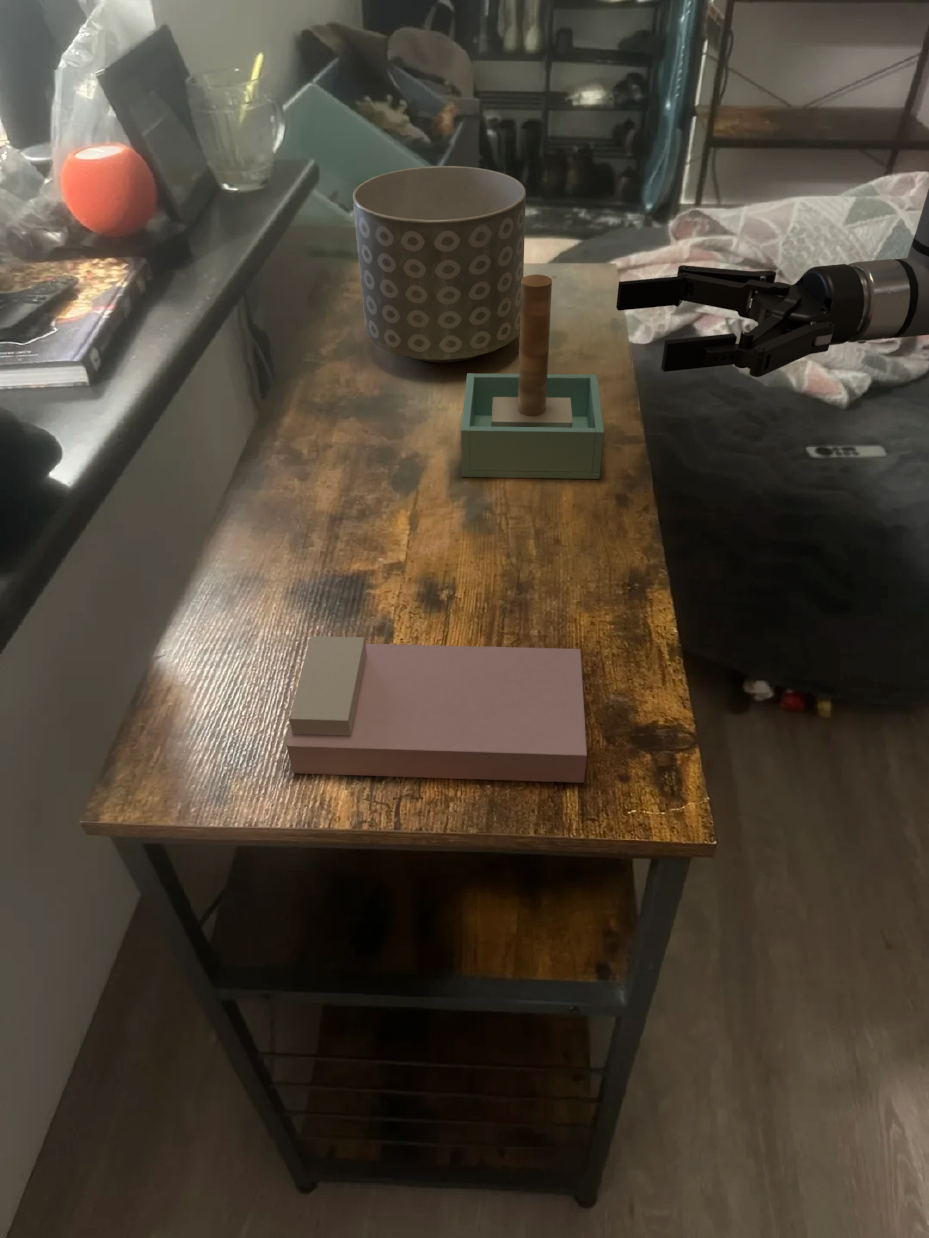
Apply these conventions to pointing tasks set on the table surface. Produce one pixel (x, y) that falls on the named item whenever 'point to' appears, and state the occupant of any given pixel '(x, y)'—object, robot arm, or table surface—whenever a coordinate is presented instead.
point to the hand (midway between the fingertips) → (639, 324)
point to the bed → (439, 712)
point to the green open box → (532, 431)
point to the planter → (441, 260)
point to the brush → (533, 366)
